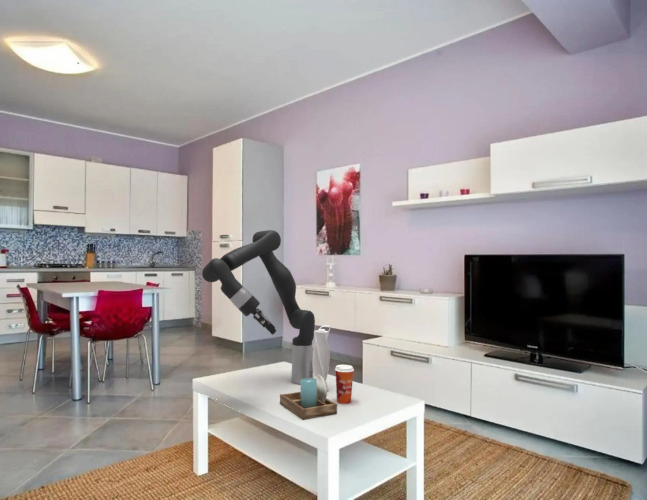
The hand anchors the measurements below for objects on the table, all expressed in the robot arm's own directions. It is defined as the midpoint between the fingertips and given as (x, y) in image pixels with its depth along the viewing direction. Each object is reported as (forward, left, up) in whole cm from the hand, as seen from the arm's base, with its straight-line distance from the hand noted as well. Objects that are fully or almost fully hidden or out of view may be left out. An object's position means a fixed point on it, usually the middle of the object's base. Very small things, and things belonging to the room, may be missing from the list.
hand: (274, 331), depth 171 cm
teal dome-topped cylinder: (-9, +13, -28) cm, 32 cm away
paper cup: (-28, +8, -29) cm, 41 cm away
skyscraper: (-27, -10, -29) cm, 41 cm away
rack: (-11, +9, -29) cm, 32 cm away
